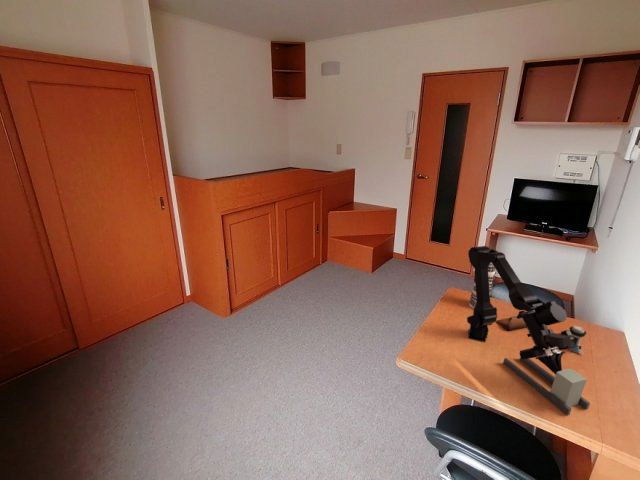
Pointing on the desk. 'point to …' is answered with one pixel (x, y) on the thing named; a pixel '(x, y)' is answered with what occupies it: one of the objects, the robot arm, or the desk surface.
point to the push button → (577, 337)
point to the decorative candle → (491, 279)
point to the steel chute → (540, 388)
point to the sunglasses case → (511, 323)
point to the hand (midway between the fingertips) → (560, 376)
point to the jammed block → (568, 386)
